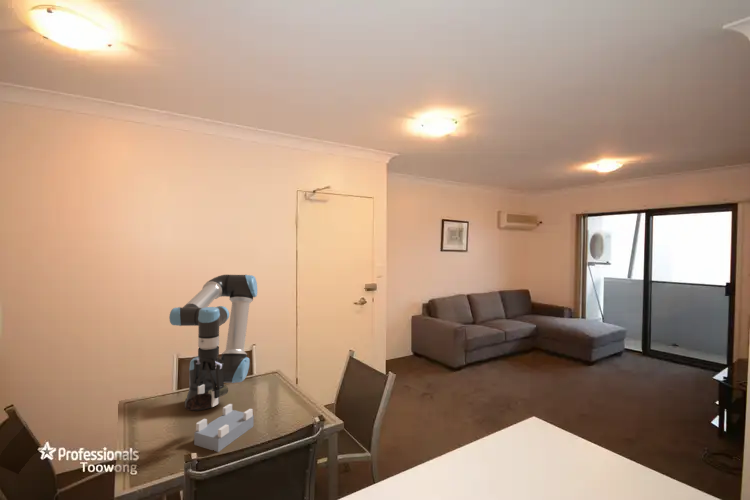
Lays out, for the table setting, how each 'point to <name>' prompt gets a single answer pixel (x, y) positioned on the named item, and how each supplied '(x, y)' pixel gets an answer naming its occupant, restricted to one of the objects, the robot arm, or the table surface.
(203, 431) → the grey block with tabs
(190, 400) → the brown lumpy club
